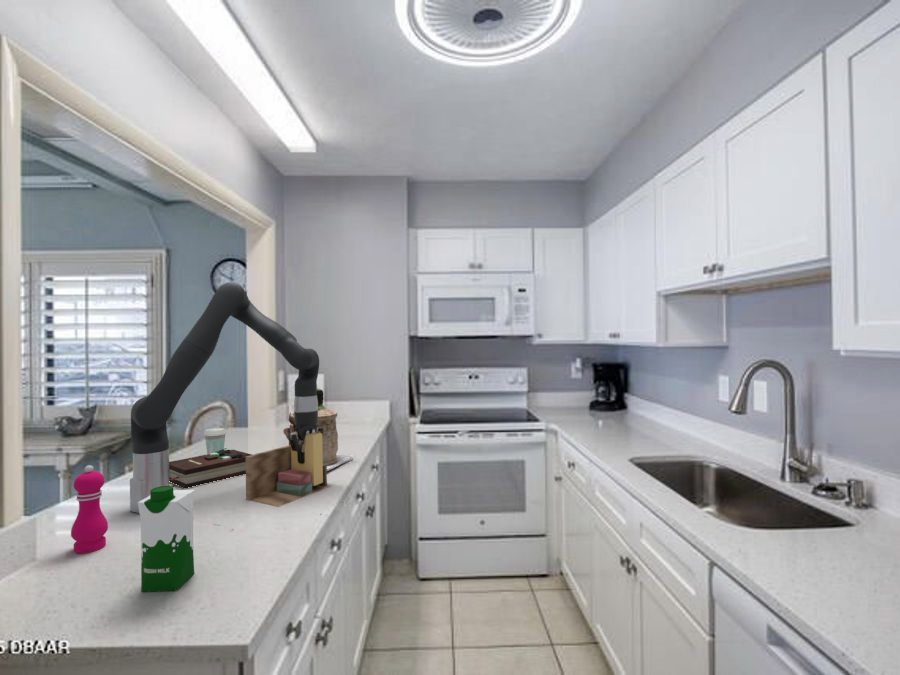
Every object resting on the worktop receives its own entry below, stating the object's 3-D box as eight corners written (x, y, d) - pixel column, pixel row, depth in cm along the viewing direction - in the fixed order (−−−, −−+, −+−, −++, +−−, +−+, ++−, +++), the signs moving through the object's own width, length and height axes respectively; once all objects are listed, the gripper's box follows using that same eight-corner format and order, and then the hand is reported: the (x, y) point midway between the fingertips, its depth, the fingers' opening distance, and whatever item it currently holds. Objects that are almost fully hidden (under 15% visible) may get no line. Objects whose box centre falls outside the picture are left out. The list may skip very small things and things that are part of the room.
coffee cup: (204, 456, 208) (204, 428, 208) (226, 454, 212) (226, 426, 212) (203, 460, 200) (203, 432, 200) (226, 458, 204) (226, 430, 204)
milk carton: (133, 594, 94) (132, 493, 94) (159, 572, 103) (158, 479, 104) (179, 593, 95) (177, 491, 95) (201, 571, 104) (200, 478, 104)
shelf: (278, 511, 139) (277, 461, 139) (246, 504, 146) (245, 456, 146) (331, 490, 158) (331, 446, 158) (300, 484, 165) (300, 442, 165)
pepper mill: (103, 539, 121) (102, 460, 122) (112, 546, 117) (111, 464, 117) (67, 549, 116) (66, 466, 116) (75, 557, 111) (74, 471, 111)
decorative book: (156, 461, 172) (237, 446, 195) (156, 482, 172) (237, 464, 195) (179, 469, 160) (262, 452, 183) (179, 492, 160) (263, 472, 183)
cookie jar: (355, 459, 200) (354, 382, 200) (324, 475, 176) (323, 388, 176) (303, 456, 206) (302, 381, 207) (266, 471, 183) (265, 387, 183)
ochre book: (314, 485, 154) (313, 435, 154) (291, 481, 158) (290, 433, 158) (322, 482, 157) (322, 433, 157) (300, 478, 162) (300, 431, 162)
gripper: (313, 405, 166) (314, 455, 166) (280, 411, 153) (281, 465, 153) (329, 407, 162) (330, 458, 162) (297, 413, 150) (298, 468, 150)
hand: (306, 461), depth 158 cm, fingers closed on ochre book, 4 cm apart
